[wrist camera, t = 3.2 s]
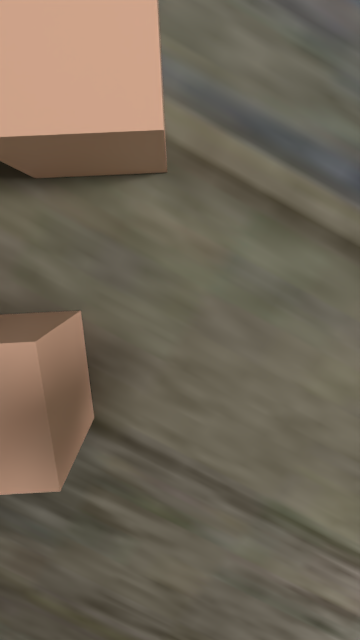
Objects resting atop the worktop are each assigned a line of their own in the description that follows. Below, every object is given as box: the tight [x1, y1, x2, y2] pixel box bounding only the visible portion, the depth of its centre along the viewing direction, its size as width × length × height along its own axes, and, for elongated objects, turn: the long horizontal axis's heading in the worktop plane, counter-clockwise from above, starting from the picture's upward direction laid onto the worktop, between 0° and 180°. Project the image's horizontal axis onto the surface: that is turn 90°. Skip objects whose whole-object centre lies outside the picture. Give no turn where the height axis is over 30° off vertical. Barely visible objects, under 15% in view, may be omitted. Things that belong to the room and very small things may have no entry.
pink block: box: [0, 0, 167, 178], centre depth 11 cm, size 6×6×6 cm
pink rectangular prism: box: [0, 311, 94, 495], centre depth 14 cm, size 6×6×6 cm
